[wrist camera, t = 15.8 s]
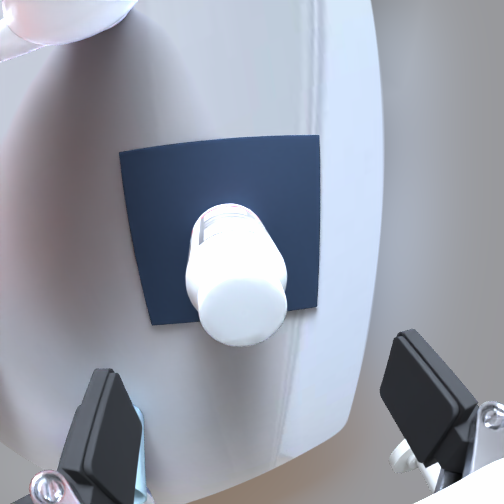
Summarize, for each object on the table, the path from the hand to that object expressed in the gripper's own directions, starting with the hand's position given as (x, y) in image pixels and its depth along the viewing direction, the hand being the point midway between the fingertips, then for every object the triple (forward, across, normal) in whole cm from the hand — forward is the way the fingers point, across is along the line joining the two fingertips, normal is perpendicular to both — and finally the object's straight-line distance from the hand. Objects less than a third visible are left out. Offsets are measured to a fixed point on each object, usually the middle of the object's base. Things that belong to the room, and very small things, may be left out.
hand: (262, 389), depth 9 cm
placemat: (+14, 0, 0) cm, 14 cm away
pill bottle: (+14, 0, 0) cm, 14 cm away
